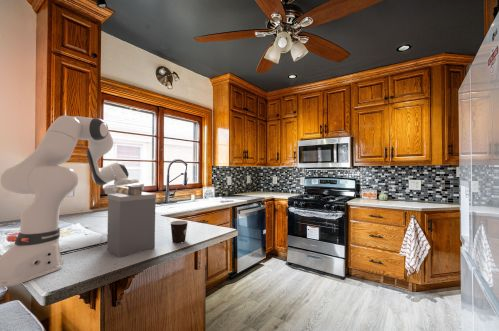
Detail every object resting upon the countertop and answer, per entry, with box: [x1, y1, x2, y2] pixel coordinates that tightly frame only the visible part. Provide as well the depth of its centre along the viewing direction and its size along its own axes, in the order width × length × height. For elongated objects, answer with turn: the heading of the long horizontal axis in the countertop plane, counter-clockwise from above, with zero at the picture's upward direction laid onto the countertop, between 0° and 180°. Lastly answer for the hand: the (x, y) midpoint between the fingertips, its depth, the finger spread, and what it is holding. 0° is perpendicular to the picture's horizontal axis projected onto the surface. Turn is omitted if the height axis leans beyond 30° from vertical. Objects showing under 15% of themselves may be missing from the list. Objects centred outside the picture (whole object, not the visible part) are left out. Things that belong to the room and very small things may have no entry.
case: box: [106, 191, 157, 258], centre depth 114 cm, size 14×16×26 cm
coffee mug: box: [170, 220, 188, 244], centre depth 125 cm, size 12×9×10 cm
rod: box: [116, 186, 143, 195], centre depth 118 cm, size 21×4×4 cm, turn 49°
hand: (126, 190), depth 133 cm, fingers open, 8 cm apart
